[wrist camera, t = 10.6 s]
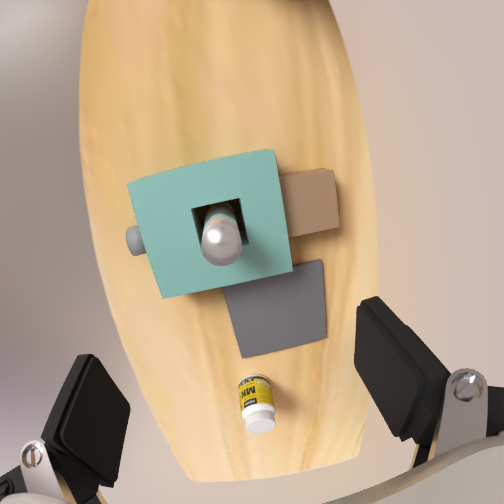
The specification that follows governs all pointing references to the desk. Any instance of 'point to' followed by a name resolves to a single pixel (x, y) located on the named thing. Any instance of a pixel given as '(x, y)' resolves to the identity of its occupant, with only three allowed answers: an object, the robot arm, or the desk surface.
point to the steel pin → (221, 235)
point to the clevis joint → (252, 210)
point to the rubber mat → (278, 310)
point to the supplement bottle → (257, 403)
